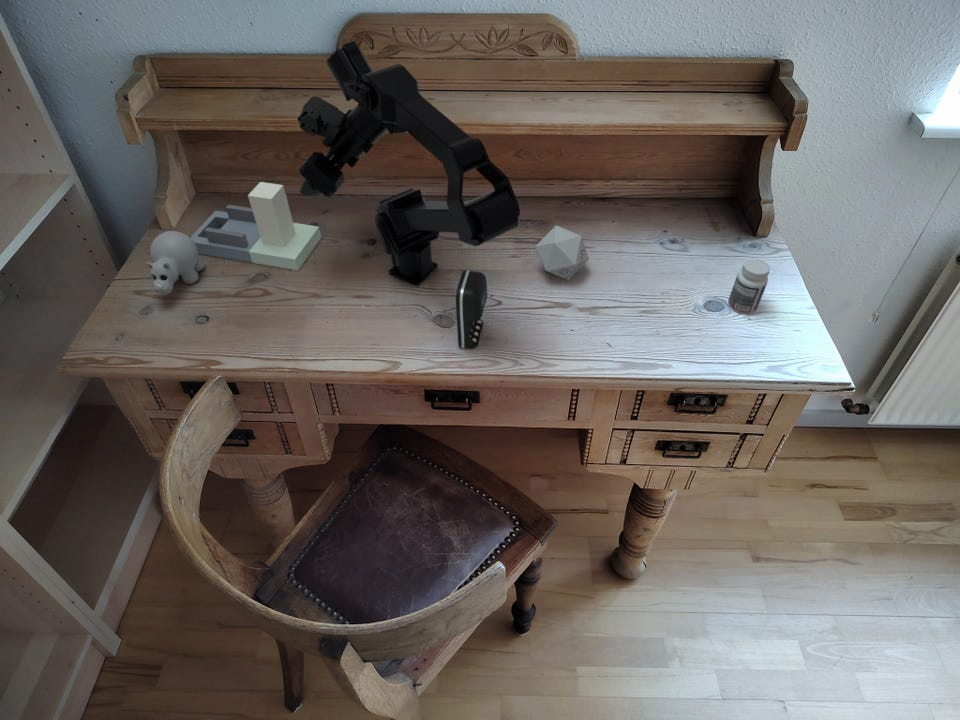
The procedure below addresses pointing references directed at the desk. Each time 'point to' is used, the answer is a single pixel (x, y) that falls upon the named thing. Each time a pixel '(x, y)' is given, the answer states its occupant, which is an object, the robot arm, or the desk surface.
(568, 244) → the die
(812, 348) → the desk surface
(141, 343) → the desk surface
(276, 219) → the block
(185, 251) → the grey rounded figurine
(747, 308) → the pill bottle
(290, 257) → the channel
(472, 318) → the battery charger
